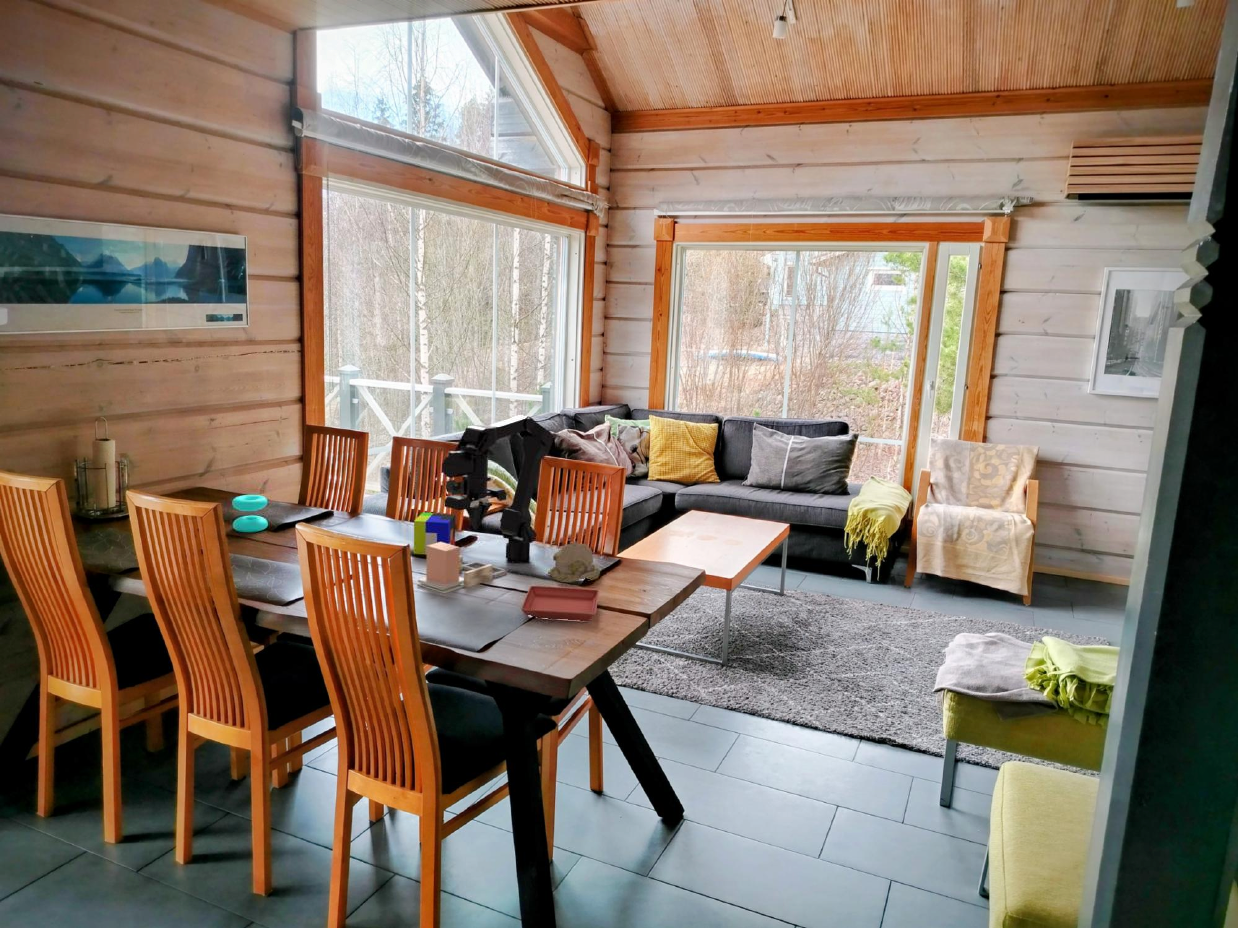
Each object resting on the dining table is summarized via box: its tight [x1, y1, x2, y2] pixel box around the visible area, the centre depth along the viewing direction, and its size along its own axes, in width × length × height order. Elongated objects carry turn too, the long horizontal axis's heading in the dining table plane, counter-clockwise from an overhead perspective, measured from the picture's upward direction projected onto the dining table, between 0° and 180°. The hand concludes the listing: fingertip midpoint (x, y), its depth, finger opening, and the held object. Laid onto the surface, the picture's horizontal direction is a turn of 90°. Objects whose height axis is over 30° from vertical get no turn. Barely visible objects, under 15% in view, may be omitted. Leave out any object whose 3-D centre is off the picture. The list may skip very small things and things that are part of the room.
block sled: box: [417, 542, 464, 590], centre depth 229 cm, size 9×9×10 cm
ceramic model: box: [547, 540, 601, 583], centre depth 244 cm, size 14×11×10 cm
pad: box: [416, 582, 465, 594], centre depth 230 cm, size 7×10×1 cm
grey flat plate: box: [461, 560, 508, 580], centre depth 243 cm, size 6×12×1 cm, turn 56°
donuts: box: [231, 494, 269, 533], centre depth 270 cm, size 10×10×10 cm
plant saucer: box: [520, 585, 600, 622], centre depth 218 cm, size 18×18×3 cm
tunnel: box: [459, 555, 494, 589], centre depth 236 cm, size 10×12×4 cm
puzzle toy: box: [413, 512, 456, 555], centre depth 260 cm, size 10×10×10 cm
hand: (475, 528), depth 238 cm, fingers closed
